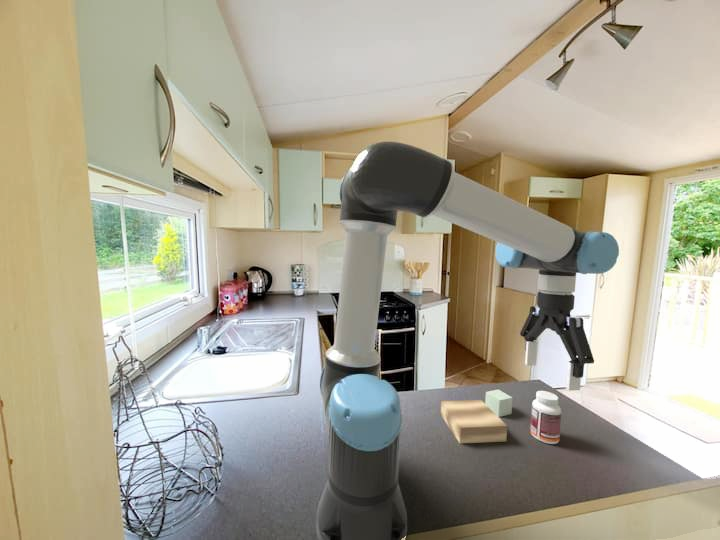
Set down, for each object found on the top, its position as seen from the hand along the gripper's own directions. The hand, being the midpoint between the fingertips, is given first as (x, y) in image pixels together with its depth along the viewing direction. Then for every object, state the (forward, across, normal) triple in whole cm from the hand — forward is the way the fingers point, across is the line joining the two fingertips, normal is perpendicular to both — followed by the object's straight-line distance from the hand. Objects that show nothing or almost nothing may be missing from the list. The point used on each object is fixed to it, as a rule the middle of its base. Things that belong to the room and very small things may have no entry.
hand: (549, 376), depth 70 cm
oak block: (+16, +5, +17) cm, 24 cm away
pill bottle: (+16, 0, 0) cm, 16 cm away
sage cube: (+16, +12, +5) cm, 21 cm away
